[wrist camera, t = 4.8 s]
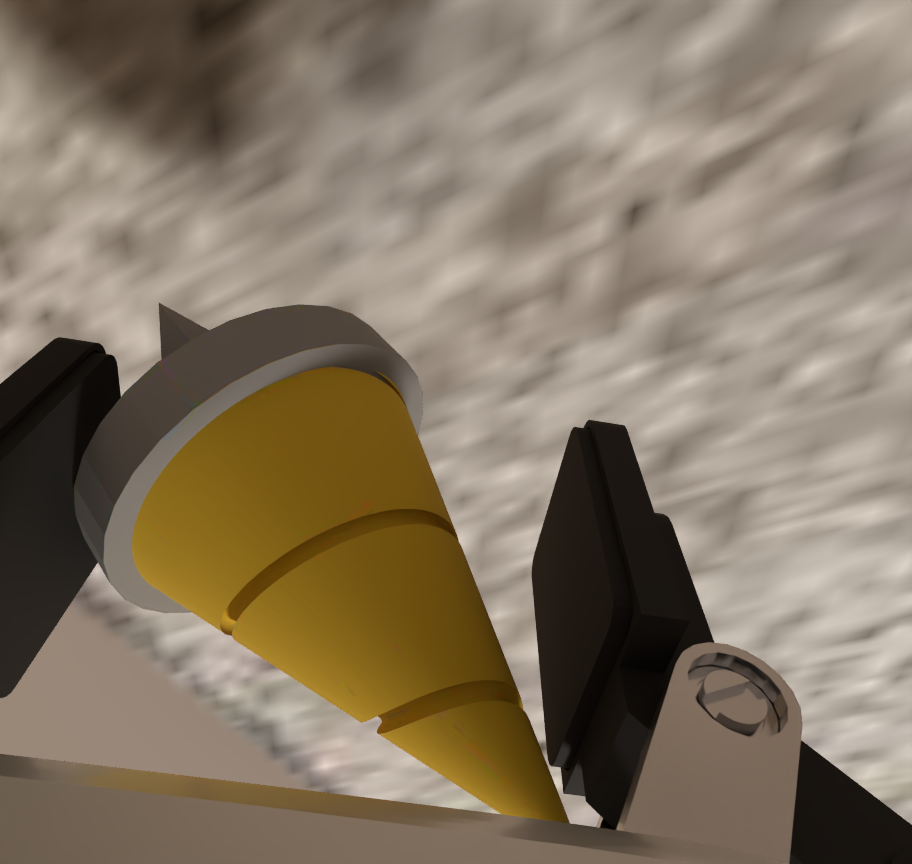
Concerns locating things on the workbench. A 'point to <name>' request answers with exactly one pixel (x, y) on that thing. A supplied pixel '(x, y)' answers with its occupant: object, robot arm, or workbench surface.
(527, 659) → the workbench surface
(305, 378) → the drill bit
